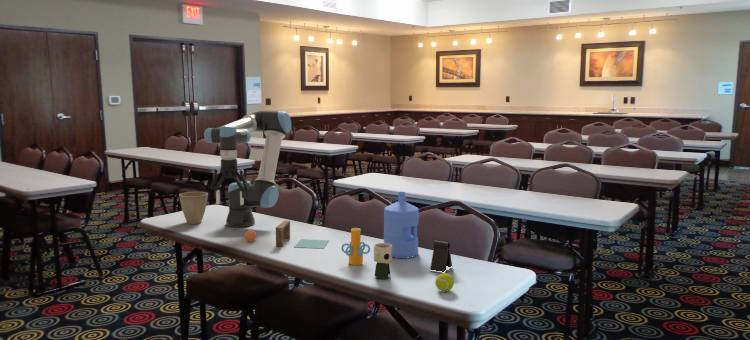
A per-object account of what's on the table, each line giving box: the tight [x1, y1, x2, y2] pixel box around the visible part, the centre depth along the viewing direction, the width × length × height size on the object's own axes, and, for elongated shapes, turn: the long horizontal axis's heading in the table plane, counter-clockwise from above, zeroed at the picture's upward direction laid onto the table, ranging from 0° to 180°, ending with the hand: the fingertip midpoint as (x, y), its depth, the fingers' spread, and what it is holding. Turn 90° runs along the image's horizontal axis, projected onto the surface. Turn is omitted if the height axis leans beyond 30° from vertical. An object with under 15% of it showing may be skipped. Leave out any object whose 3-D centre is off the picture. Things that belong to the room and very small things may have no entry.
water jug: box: [383, 191, 420, 259], centre depth 250 cm, size 16×16×28 cm
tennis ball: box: [434, 272, 455, 292], centre depth 205 cm, size 7×7×7 cm
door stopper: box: [429, 239, 453, 272], centre depth 230 cm, size 9×6×12 cm, turn 149°
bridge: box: [275, 220, 291, 248], centre depth 268 cm, size 3×14×9 cm, turn 174°
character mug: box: [373, 242, 393, 279], centre depth 219 cm, size 11×7×13 cm, turn 146°
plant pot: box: [178, 191, 209, 225], centre depth 306 cm, size 15×15×16 cm
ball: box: [244, 229, 258, 243], centre depth 270 cm, size 6×6×6 cm
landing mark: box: [294, 238, 330, 250], centre depth 267 cm, size 14×14×1 cm
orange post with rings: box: [340, 227, 371, 266], centre depth 236 cm, size 12×10×15 cm
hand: (230, 204), depth 269 cm, fingers open, 11 cm apart
